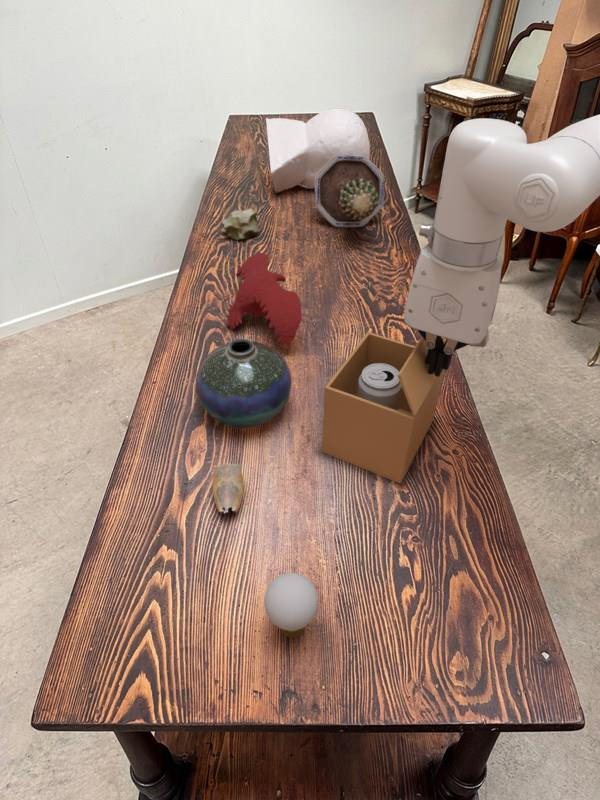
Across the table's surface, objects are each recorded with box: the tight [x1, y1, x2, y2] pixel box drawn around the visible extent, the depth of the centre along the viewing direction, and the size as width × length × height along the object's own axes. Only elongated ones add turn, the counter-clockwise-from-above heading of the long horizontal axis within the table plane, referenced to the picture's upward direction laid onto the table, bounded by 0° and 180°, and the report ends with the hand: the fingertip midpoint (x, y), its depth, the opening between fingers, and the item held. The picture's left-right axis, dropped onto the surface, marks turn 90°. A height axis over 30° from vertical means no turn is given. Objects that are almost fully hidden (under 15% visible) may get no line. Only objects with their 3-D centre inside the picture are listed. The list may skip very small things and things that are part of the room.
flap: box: [398, 336, 447, 415], centre depth 73 cm, size 6×15×1 cm
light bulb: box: [263, 572, 319, 639], centre depth 60 cm, size 6×6×10 cm
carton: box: [321, 331, 446, 484], centre depth 82 cm, size 13×15×14 cm
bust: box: [265, 107, 371, 194], centre depth 154 cm, size 30×22×24 cm
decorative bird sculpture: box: [226, 252, 303, 346], centre depth 107 cm, size 28×9×15 cm
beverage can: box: [357, 363, 402, 411], centre depth 82 cm, size 6×6×12 cm
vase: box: [195, 338, 293, 429], centre depth 86 cm, size 15×15×13 cm
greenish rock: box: [221, 207, 263, 241], centre depth 136 cm, size 9×9×8 cm
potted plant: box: [314, 154, 385, 229], centre depth 135 cm, size 18×18×30 cm
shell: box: [212, 462, 244, 515], centre depth 76 cm, size 8×4×5 cm, turn 14°
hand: (436, 369), depth 73 cm, fingers closed
